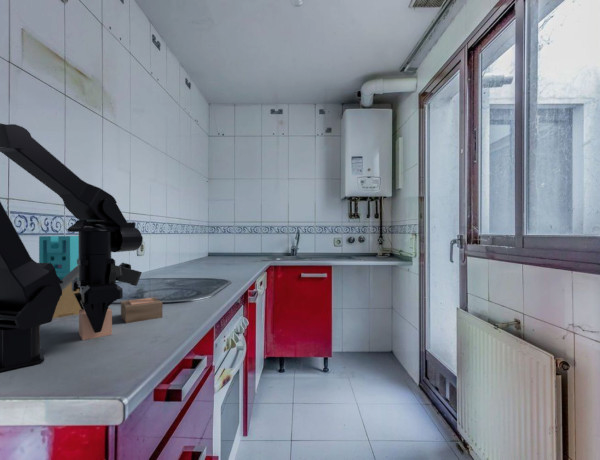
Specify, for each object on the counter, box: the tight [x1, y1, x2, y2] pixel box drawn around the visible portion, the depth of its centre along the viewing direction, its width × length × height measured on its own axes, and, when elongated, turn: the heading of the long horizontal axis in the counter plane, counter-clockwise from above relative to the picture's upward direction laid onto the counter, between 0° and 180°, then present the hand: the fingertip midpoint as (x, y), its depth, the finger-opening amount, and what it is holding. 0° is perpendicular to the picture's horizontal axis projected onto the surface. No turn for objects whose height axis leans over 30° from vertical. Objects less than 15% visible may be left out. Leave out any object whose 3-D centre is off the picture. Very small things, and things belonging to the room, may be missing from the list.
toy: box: [38, 235, 79, 280], centre depth 93 cm, size 9×6×20 cm, turn 86°
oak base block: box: [120, 296, 163, 324], centre depth 78 cm, size 8×8×4 cm
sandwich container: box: [52, 265, 82, 320], centre depth 81 cm, size 9×15×15 cm, turn 134°
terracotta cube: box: [78, 306, 113, 341], centre depth 65 cm, size 5×5×5 cm
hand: (95, 329), depth 65 cm, fingers closed on terracotta cube, 5 cm apart
